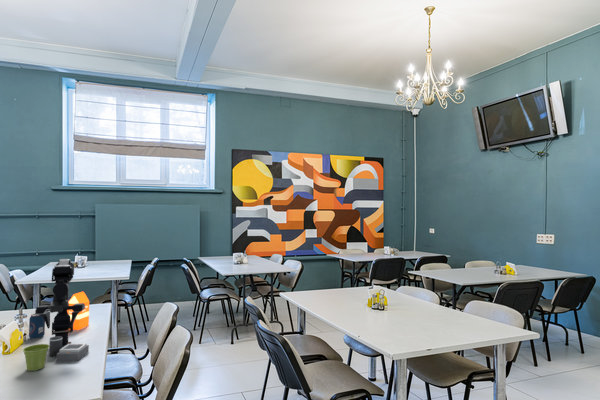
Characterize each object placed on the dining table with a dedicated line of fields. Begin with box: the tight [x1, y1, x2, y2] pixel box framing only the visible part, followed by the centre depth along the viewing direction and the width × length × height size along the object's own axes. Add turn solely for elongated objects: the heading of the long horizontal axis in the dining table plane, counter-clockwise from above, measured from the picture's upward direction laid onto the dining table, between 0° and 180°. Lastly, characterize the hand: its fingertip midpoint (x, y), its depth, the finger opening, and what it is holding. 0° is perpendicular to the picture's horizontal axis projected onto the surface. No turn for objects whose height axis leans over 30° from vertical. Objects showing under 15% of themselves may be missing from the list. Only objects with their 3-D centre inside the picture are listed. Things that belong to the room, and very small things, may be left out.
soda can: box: [28, 313, 46, 340], centre depth 204 cm, size 7×7×12 cm
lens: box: [48, 335, 63, 358], centre depth 179 cm, size 5×5×8 cm
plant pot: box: [22, 343, 49, 372], centre depth 164 cm, size 9×9×9 cm
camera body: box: [55, 343, 90, 363], centre depth 177 cm, size 11×9×5 cm
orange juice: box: [67, 291, 90, 331], centre depth 223 cm, size 8×9×20 cm
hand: (60, 327), depth 176 cm, fingers open, 9 cm apart
